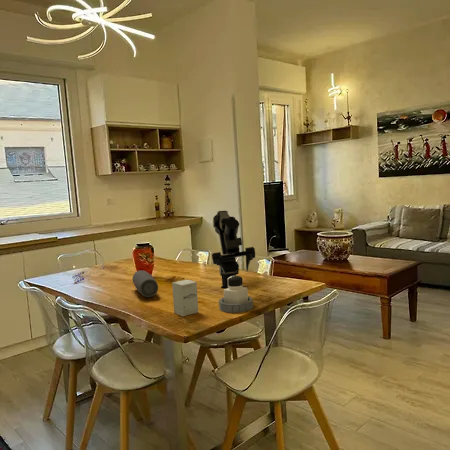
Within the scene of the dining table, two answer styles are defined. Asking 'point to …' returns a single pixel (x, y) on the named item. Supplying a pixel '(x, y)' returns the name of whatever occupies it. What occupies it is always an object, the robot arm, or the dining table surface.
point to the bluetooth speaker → (145, 283)
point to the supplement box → (185, 297)
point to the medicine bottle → (235, 291)
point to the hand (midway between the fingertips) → (236, 272)
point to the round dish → (236, 306)
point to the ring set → (83, 273)
